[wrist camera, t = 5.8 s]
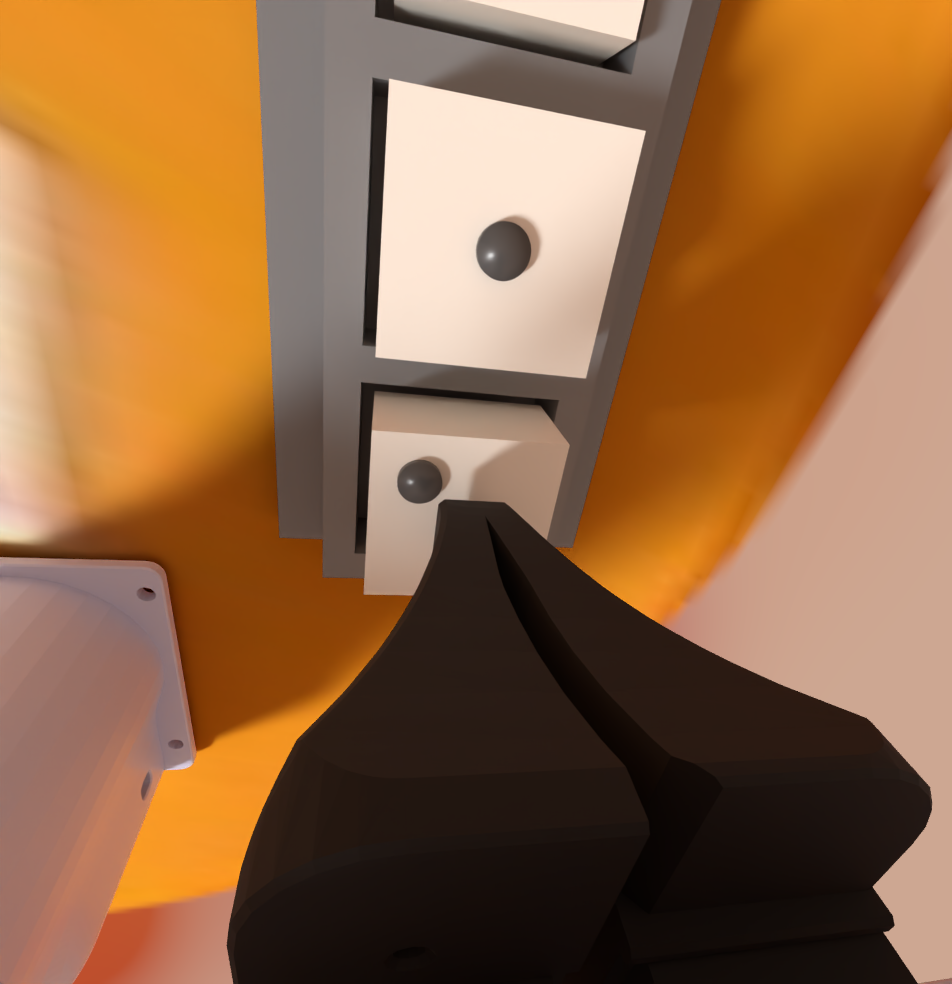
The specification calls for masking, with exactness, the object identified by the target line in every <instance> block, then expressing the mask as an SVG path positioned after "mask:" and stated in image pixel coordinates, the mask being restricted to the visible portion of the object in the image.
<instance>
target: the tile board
mask: <svg viewBox="0 0 952 984" xmlns="http://www.w3.org/2000/svg"><path fill="white" fill-rule="evenodd" d="M720 3H721V0H644V5H643V9H642V14H641V18H640V23H639V27H638V32H637V36H636V41H634V42H633V43H631V44H630V45H628V46H627V47H625V48H624V49H622V50H620V51H619V52H617V53H616V54H614V55H613V56H611V57H610V58H608V59H607V60H605V61H604V62H602V63H601V64H599V65H597V66H596V67H595V66H590V65H586V64H581V63H577V62H573V61H568V60H564V59H559V58H555V57H550V56H546V55H542V54H537V53H533V52H528V51H524V50H519V49H515V48H510V47H506V46H502V45H497V44H493V43H488V42H484V41H479V40H475V39H471V38H466V37H462V36H457V35H453V34H448V33H444V32H439V31H435V30H431V29H426V28H422V27H417V26H413V25H408V24H404V23H400V22H395V21H394V0H256V7H257V30H258V53H259V76H260V99H261V123H262V146H263V169H264V192H265V215H266V239H267V262H268V285H269V308H270V331H271V355H272V378H273V401H274V424H275V447H276V471H277V494H278V517H279V538H301V539H323V577H326V578H364V577H365V556H366V536H367V516H368V496H369V476H370V455H371V435H372V420H373V406H374V392H375V391H382V392H393V393H404V394H415V395H427V396H438V397H449V398H461V399H472V400H483V401H494V402H506V403H517V404H528V405H540V406H541V407H542V408H543V410H544V411H545V412H546V414H547V415H548V416H549V418H550V419H551V420H552V422H553V423H554V425H555V426H556V427H557V429H558V430H559V431H560V433H561V434H562V435H563V437H564V438H565V439H566V441H567V442H568V443H569V445H570V446H569V450H568V454H567V458H566V463H565V467H564V471H563V475H562V479H561V483H560V487H559V491H558V496H557V500H556V504H555V508H554V512H553V516H552V520H551V525H550V529H549V533H548V537H547V541H548V542H549V543H550V544H551V545H552V546H554V547H568V548H572V547H573V544H574V540H575V536H576V533H577V529H578V525H579V522H580V518H581V514H582V511H583V507H584V503H585V500H586V496H587V492H588V488H589V485H590V481H591V477H592V474H593V470H594V466H595V463H596V459H597V455H598V452H599V448H600V444H601V441H602V437H603V433H604V430H605V426H606V422H607V419H608V415H609V411H610V408H611V404H612V400H613V396H614V393H615V389H616V385H617V382H618V378H619V374H620V371H621V367H622V363H623V360H624V356H625V352H626V349H627V345H628V341H629V338H630V334H631V330H632V327H633V323H634V319H635V316H636V312H637V308H638V305H639V301H640V297H641V293H642V290H643V286H644V282H645V279H646V275H647V271H648V268H649V264H650V260H651V257H652V253H653V249H654V246H655V242H656V238H657V235H658V231H659V227H660V224H661V220H662V216H663V213H664V209H665V205H666V202H667V198H668V194H669V190H670V187H671V183H672V179H673V176H674V172H675V168H676V165H677V161H678V157H679V154H680V150H681V146H682V143H683V139H684V135H685V132H686V128H687V124H688V121H689V117H690V113H691V110H692V106H693V102H694V98H695V95H696V91H697V87H698V84H699V80H700V76H701V73H702V69H703V65H704V62H705V58H706V54H707V51H708V47H709V43H710V40H711V36H712V32H713V29H714V25H715V21H716V18H717V14H718V10H719V7H720ZM389 79H393V80H398V81H403V82H408V83H413V84H418V85H423V86H428V87H432V88H437V89H442V90H447V91H452V92H457V93H462V94H467V95H472V96H477V97H482V98H486V99H491V100H496V101H501V102H506V103H511V104H516V105H521V106H526V107H531V108H535V109H540V110H545V111H550V112H555V113H560V114H565V115H570V116H575V117H580V118H584V119H589V120H594V121H599V122H604V123H609V124H614V125H619V126H624V127H629V128H634V129H638V130H643V131H646V132H645V136H644V141H643V145H642V149H641V153H640V157H639V161H638V165H637V169H636V174H635V178H634V182H633V186H632V190H631V194H630V198H629V202H628V207H627V211H626V215H625V219H624V223H623V227H622V231H621V235H620V240H619V244H618V248H617V252H616V256H615V260H614V264H613V269H612V273H611V277H610V281H609V285H608V289H607V293H606V297H605V302H604V306H603V310H602V314H601V318H600V322H599V326H598V330H597V335H596V339H595V343H594V347H593V351H592V355H591V359H590V363H589V368H588V372H587V376H586V378H576V377H566V376H556V375H546V374H536V373H526V372H516V371H506V370H496V369H486V368H477V367H467V366H457V365H447V364H437V363H427V362H417V361H407V360H397V359H387V358H378V357H375V355H376V334H377V314H378V294H379V274H380V254H381V234H382V213H383V193H384V173H385V153H386V133H387V113H388V92H389Z"/></svg>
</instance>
